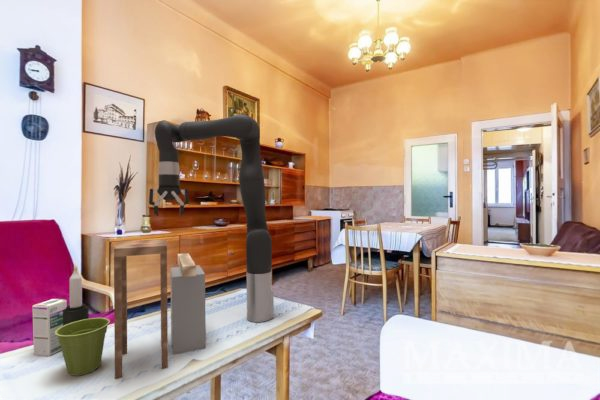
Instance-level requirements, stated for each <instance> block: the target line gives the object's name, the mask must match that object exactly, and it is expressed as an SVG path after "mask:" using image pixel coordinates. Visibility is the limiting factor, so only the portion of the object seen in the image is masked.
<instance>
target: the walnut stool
mask: <svg viewBox="0 0 600 400" xmlns="http://www.w3.org/2000/svg"><path fill="white" fill-rule="evenodd" d="M167 247H168V244H167V240H166V238H165V239H164V238H163V239H148V240H130V241H119V243H118V244H117V245H116V246H115V247H114V248H113V290H114V291H113V293H114V294H113V295H114V296H113V304H114V305H113V306H114V307H113V308H114V309H113V310H114V312H113V313H114V315H113V317H114V329H113V331H114V379H115V380H118V379H122V378H123V374H124V373H123V355H126V354H128V297H127V296H128V291H127V290H128V280H127V279H128V275H127V273H128V269H127V267H128V265H127V264H128V263H127V257H132V256H145V255H146V256H148V255H159V257H160V261H159V262H160V271H159V273H160V347H161V349H160V350H161V352H160V353H161V370H162V369H168V368H169V354H168V353H169V349H168V343H169V342H168V341H169V339H168V338H169V337H168V333H169V332H168V331H169V330H168V327H169V325H168V322H169V321H168V248H167Z"/></svg>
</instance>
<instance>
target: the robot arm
mask: <svg viewBox="0 0 600 400" xmlns="http://www.w3.org/2000/svg"><path fill="white" fill-rule="evenodd" d="M154 137H155V142H156V146H157V148H158V170H157V171H158V188H157V189H154V188H150V189H149V198H148V204H149V205H152V206H153V207H154V209H153V211H154V212H153V214H154V215H155V216H156V217H159V204H160V203H161V202H162V200H164V201H170V200H171V201H174V200H176V202H178V203H179V215H180V216H183V215H184V213H185V205H188V204H190V201H189V200H190V199H189V190H188V188H185V189H181V188H180V164H179V150H178V149H177V148H176V147H175V146H174V143H181V142H186V141H204V140H208V139H212V138H217V137H224V138H225V137H226V138H233V139H237V140H239V145H240V148H241V149H240V150H241V163H240V168H239V173H238V174H239V175H238V182H239V189H240V190H239V191H240V197H241V201H242V206H243V208H244V212H245V219H246V239H245V256H246V257H245V258H246V259H245V262H246V263H245V264H246V265H245V266H246V320H247V321H248V322H253V323H263V322H268V321H270V320H272V319H274V318H275V316H274V315H275V314H274V313H275V312H274V311H275V307H274V306H275V305H274V301H275V300H274V299H275V298H274V296H275V294H274V292H273V290H272V287H273V286H272V284H273V283H272V282H273V281H272V277H273V276H272V268H273V267H272V265H273V257H272V256H273V244H272V242H273V241H272V237H271V235H270V232H269V228H268V224H267V218H266V185H265V179H264V172H263V171H264V170H263V165H262V163H263V162H262V157H261V131H260V125H259V123H258V122H257V121H256V120H255V119H254V118H252V117H251V116H249V115H247V114H244V113H243V114H237V115H233V116H228V117H224V118H218V119H212V120H211V119H210V120H200V121H198V120H197V121H196V120H195V121H184V122H182V123H181V124H174V123H171V122H169V121H164V120H163V121H159V122H158V123H157V124H156V125H155V129H154ZM156 193H157V194H158V195H159V197H158V199H157V200H156V201H155V202H154V201H153V199H154V196H155V195H156ZM181 193H182V195H183V196H184V201H182V199H181V198H180V197H179V196H180V194H181Z"/></svg>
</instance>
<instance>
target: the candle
mask: <svg viewBox="0 0 600 400" xmlns="http://www.w3.org/2000/svg"><path fill="white" fill-rule="evenodd" d="M89 314H90V311H89V305H88V306H87V305H86V303H83V277H82V275H81V274H80V272H79V270H78V266H76V265H75V266H74V267H73V272H72V274H71V276H70V277H69V305H67V307H66V309H64V310H63V326H64V325H66V324H69V323H72V322H75V321H79V320H83V319H90V318H89V317H90V315H89Z"/></svg>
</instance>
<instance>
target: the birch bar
mask: <svg viewBox="0 0 600 400" xmlns="http://www.w3.org/2000/svg"><path fill="white" fill-rule="evenodd" d="M177 264H178V267H179V268H180V271H181V274H182V277H190V276H196V263H195V261H194V260H193V258H192V257H191V255H190V253H188V252H186V253H185V252H184V253H177Z"/></svg>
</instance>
